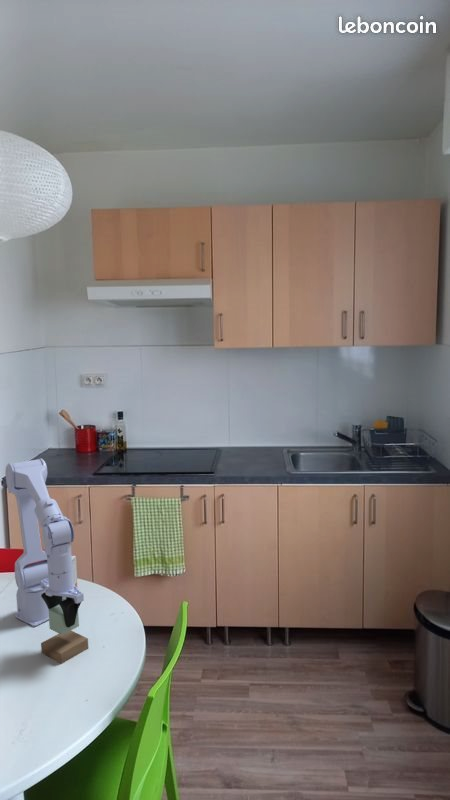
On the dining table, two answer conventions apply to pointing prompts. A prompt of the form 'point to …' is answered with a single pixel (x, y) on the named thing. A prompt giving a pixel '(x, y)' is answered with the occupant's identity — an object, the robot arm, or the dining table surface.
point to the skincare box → (73, 573)
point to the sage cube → (60, 620)
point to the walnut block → (64, 646)
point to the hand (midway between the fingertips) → (63, 622)
